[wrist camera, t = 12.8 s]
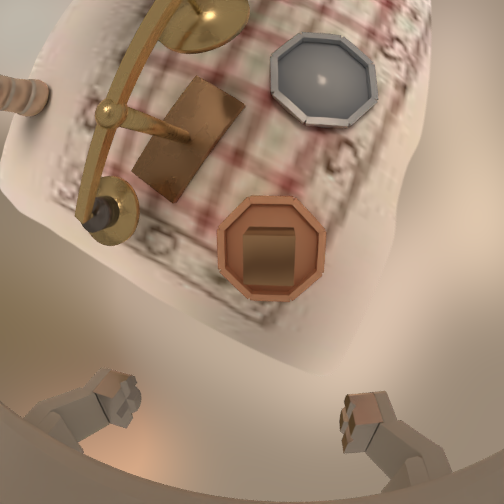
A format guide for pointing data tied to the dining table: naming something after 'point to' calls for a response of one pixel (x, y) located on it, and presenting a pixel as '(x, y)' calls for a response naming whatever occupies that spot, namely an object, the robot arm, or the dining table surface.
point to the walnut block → (269, 256)
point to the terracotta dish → (272, 215)
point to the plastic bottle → (23, 95)
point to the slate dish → (323, 80)
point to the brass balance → (164, 132)
